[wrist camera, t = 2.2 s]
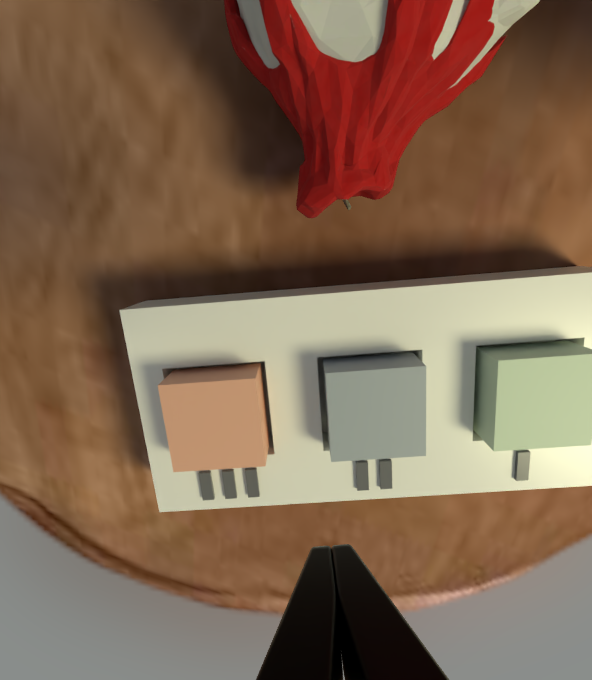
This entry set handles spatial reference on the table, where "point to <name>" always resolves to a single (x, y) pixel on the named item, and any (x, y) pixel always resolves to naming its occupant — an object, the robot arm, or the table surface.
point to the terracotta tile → (215, 417)
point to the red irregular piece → (364, 77)
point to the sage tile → (533, 395)
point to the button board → (358, 340)
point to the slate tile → (375, 406)
